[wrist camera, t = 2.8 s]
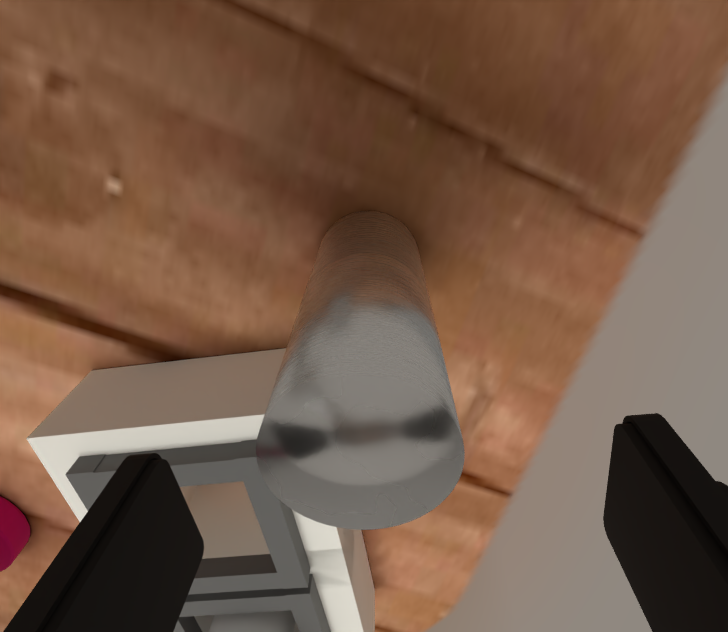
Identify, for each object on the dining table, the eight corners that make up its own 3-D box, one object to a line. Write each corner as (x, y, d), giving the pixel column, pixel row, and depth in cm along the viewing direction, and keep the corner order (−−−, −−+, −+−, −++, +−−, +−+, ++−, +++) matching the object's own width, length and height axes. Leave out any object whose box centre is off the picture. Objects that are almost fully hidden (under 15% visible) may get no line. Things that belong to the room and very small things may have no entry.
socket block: (91, 370, 24) (-139, 610, 13) (319, 344, 23) (269, 583, 12) (208, 600, 33) (128, 851, 22) (374, 590, 32) (373, 848, 21)
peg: (309, 218, 20) (231, 387, 9) (414, 203, 19) (458, 362, 9) (328, 311, 22) (282, 536, 11) (423, 299, 21) (468, 522, 11)
